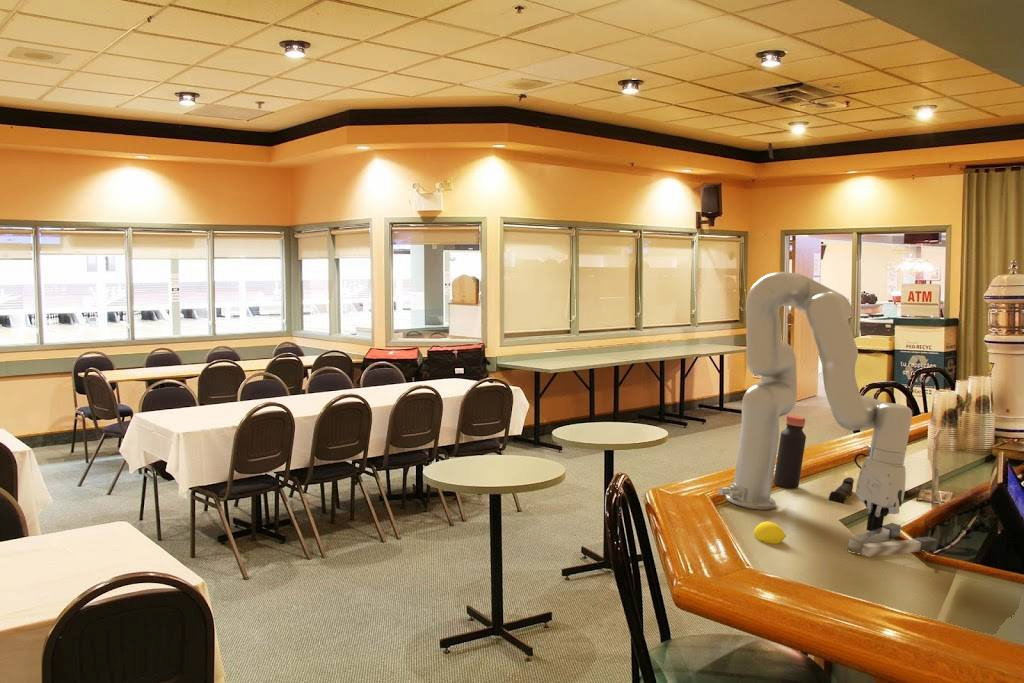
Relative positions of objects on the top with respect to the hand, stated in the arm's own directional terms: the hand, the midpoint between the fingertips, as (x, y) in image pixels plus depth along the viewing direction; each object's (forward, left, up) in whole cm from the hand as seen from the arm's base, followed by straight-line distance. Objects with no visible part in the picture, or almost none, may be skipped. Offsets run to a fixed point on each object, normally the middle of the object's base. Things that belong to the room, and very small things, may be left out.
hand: (873, 530), depth 194 cm
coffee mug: (+43, +37, -2) cm, 56 cm away
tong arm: (-4, -4, -1) cm, 6 cm away
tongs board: (-4, -5, -2) cm, 7 cm away
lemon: (-31, +2, -2) cm, 31 cm away
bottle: (+10, +39, -2) cm, 40 cm away
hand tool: (+19, +27, -2) cm, 33 cm away
